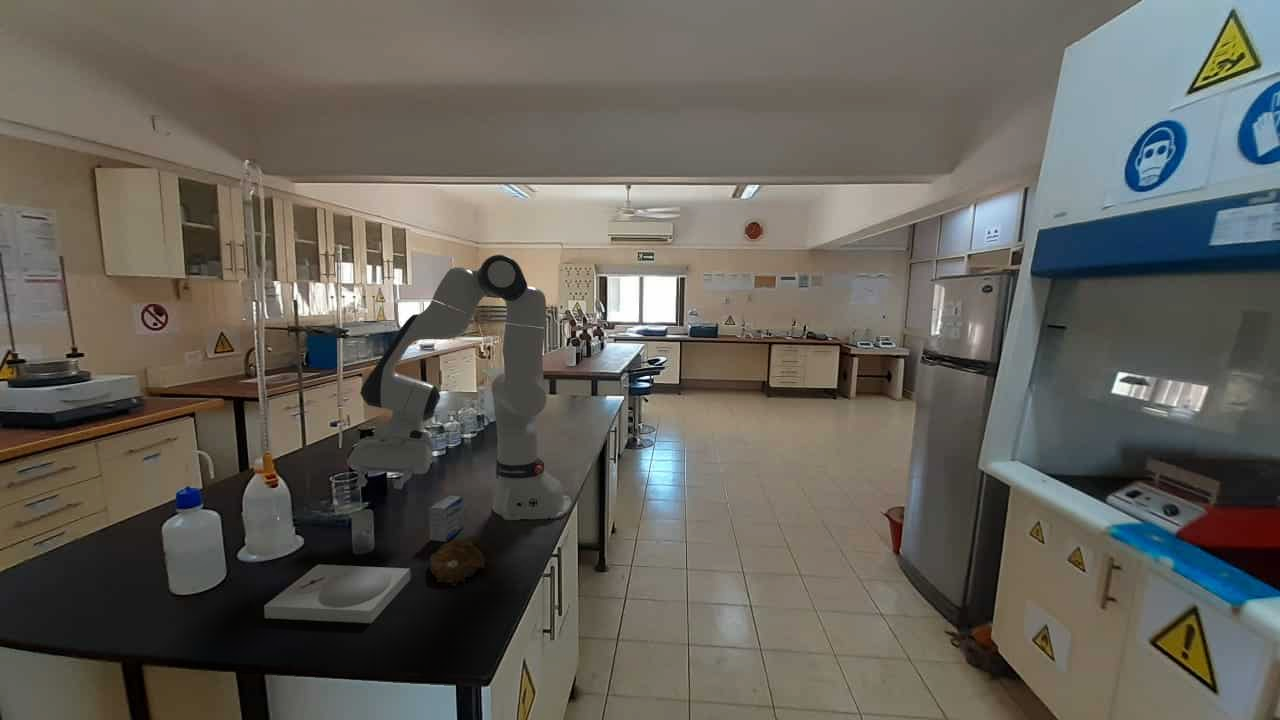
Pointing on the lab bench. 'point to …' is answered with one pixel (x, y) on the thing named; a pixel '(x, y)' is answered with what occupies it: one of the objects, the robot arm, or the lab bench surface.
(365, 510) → the cylinder
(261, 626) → the lab bench surface
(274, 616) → the white shallow tray
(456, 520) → the medicine box
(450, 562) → the decorative rock
